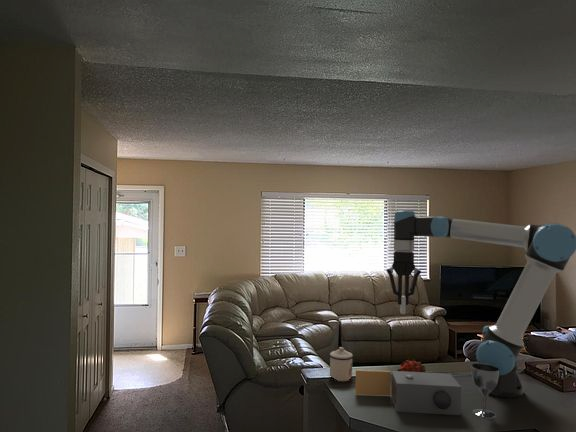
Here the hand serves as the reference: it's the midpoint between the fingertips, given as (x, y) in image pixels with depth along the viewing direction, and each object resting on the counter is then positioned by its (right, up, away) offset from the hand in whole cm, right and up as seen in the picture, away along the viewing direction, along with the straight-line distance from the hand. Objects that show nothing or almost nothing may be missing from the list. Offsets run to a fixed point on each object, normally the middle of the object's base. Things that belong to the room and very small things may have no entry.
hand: (402, 313), depth 166 cm
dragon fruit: (+4, -27, +2) cm, 27 cm away
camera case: (+2, -26, -21) cm, 33 cm away
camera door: (-14, -26, -13) cm, 32 cm away
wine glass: (+19, -27, -26) cm, 42 cm away
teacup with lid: (-23, -26, +6) cm, 35 cm away
